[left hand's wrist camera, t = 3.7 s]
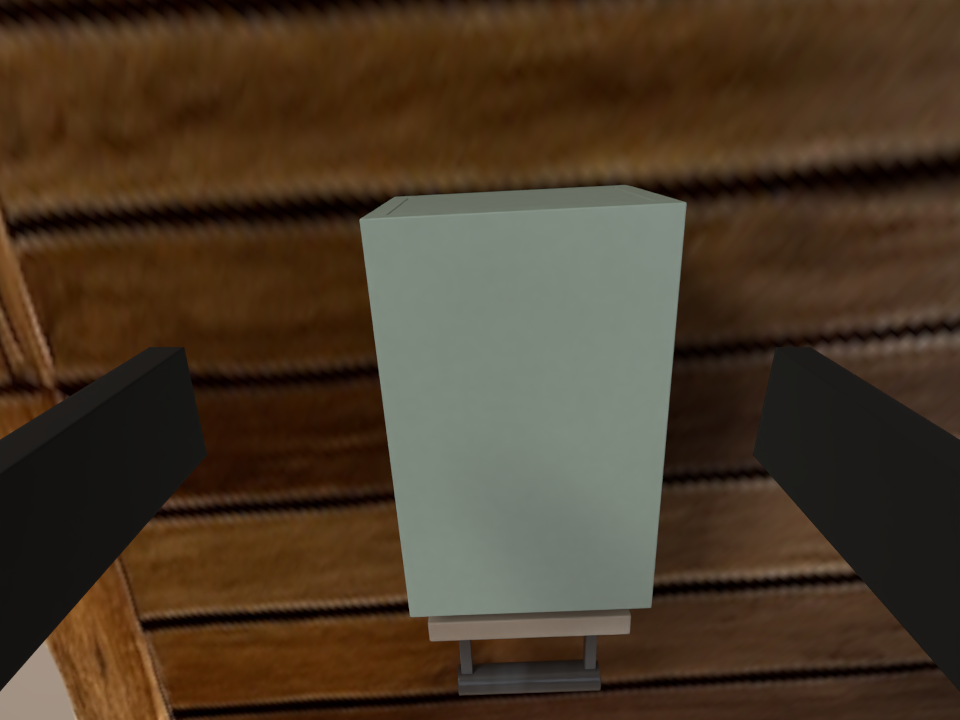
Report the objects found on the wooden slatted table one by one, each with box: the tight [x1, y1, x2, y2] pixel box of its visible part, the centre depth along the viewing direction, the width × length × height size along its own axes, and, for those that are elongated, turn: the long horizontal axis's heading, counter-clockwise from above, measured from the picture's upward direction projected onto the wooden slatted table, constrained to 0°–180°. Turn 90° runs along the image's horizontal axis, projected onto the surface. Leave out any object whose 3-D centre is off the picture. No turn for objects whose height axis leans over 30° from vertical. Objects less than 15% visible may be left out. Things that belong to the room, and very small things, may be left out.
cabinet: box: [360, 185, 686, 617], centre depth 25 cm, size 18×11×8 cm, turn 3°
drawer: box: [428, 609, 631, 695], centre depth 27 cm, size 22×10×6 cm, turn 3°
